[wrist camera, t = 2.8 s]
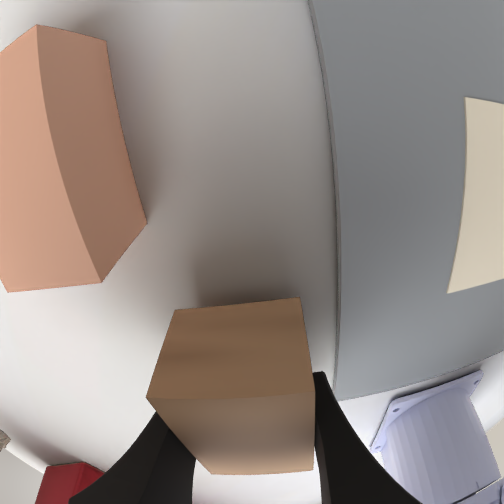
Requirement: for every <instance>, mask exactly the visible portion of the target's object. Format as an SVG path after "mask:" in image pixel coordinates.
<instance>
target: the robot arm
mask: <svg viewBox="0 0 504 504" xmlns="http://www.w3.org/2000/svg"><path fill="white" fill-rule="evenodd" d="M312 374H313V380H314V387H315V436H314V446H315V451H316V456H317V462H318V467H319V473H320V483H321V497H322V504H504V478H503V479H501V480H499V481H498V482H496V483H494V484H493V485H491V486H489V487H488V488H486V489H484V490H482V489H483V488H485V487H487V486H488V485H490V484H491V483H493V482H494V481H496V480H498V479H499V478H500V477H501V476H500V472H499V469H498V466H497V463H496V460H495V457H494V455H493V452H492V449H491V446H490V444H489V442H488V439H487V436H486V434H485V431H484V429H483V426H482V424H481V422H480V419H479V417H478V415H477V413H476V410H475V408H474V406H473V404H472V402H471V399H470V396H471V394H472V393H473V391H474V390H475V388H476V387H477V385H478V384H479V382H480V380H481V379H482V377H483V375H484V373H483V371H482V370H479V371H477V372H474V373H472V374H469V375H467V376H464V377H462V378H459V379H457V380H454V381H451V382H448V383H446V384H443V385H440V386H437V387H434V388H431V389H428V390H425V391H422V392H418V393H415V394H412V395H408V396H405V397H401V398H398V399H395V400H393V401H392V402H391V403H390V405H389V407H388V410H387V412H386V415H385V417H384V420H383V422H382V424H381V426H380V429H379V431H378V433H377V435H376V437H375V440H374V442H373V444H372V446H371V448H370V452H369V450H368V449H367V448H366V447H365V445H364V444H363V443H362V441H361V440H360V438H359V437H358V435H357V434H356V432H355V431H354V429H353V428H352V426H351V425H350V423H349V422H348V420H347V418H346V416H345V415H344V413H343V411H342V410H341V408H340V406H339V404H338V402H337V400H336V398H335V396H334V394H333V392H332V390H331V388H330V385H329V383H328V380H327V377H326V374H325V372H323V371H321V372H314V373H312ZM377 452H381V454H382V458H383V463H384V467H385V469H384V468H383V467H382V466H381V465H380V464H379V463H378V461H377V460H376V459H375V458H374V457H373V455H372V454H371V453H377ZM195 462H196V458H195V457H194V456H193V454H192V453H191V452H190V451H189V450H188V449H187V448H186V447H185V446H184V444H183V443H182V442H181V441H180V440H179V439H178V437H177V436H176V435H175V434H174V433H173V432H172V430H171V429H170V428H169V427H168V425H167V424H166V423H165V422H164V421H163V419H162V418H161V417H160V415H159V414H158V413H157V412H155V414H154V415H153V417H152V418H151V420H150V421H149V423H148V424H147V426H146V427H145V428H144V430H143V431H142V433H141V434H140V435H139V437H138V438H137V439H136V441H135V442H134V443H133V444H132V446H131V447H130V448H129V449H128V450H127V452H126V453H125V454H124V455H123V456H122V457H121V458H120V459H119V460H118V461H117V462H116V463H115V464H114V465H113V466H112V467H111V468H110V469H109V470H108V471H107V472H106V473H105V474H103V475H102V476H101V477H100V478H98V479H97V480H96V481H95V482H93V483H92V484H91V485H89V486H88V487H87V488H85V489H84V490H82V491H80V492H79V493H77V494H76V495H74V496H72V497H71V498H69V501H68V504H192V486H193V474H194V468H195ZM480 490H482V491H481V492H479V493H477V494H476V492H478V491H480Z"/></svg>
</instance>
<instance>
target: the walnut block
mask: <svg viewBox="0 0 504 504" xmlns="http://www.w3.org/2000/svg"><path fill="white" fill-rule="evenodd" d="M146 398H147V400H148V401H149V402H150V404H151V405H152V406H153V408H154V409H155V410H156V412H157V413H158V414H159V415H160V417H161V418H162V419H163V421H164V422H165V423H166V424H167V425H168V427H169V428H170V429H171V430H172V432H173V433H174V434H175V435H176V436H177V437H178V439H179V440H180V441H181V442H182V443H183V444H184V446H185V447H186V448H187V449H188V450H189V451H190V452H191V453H192V454H193V456H194V457H195V458H196V459H197V460H198V461H199V462H200V463H201V464H202V465H203V466H204V467H205V468H206V469H207V470H208V471H209V472H210V473H211V474H220V475H259V474H279V473H291V472H301V471H310V470H313V463H314V436H315V387H314V380H313V374H312V367H311V361H310V354H309V348H308V342H307V336H306V330H305V324H304V318H303V312H302V307H301V301H300V297H294V298H286V299H278V300H270V301H262V302H253V303H243V304H234V305H224V306H214V307H203V308H191V309H179V310H175V311H174V314H173V317H172V319H171V322H170V325H169V328H168V331H167V334H166V337H165V340H164V343H163V346H162V348H161V351H160V354H159V357H158V361H157V364H156V367H155V370H154V373H153V376H152V379H151V382H150V385H149V389H148V392H147V395H146Z"/></svg>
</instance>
